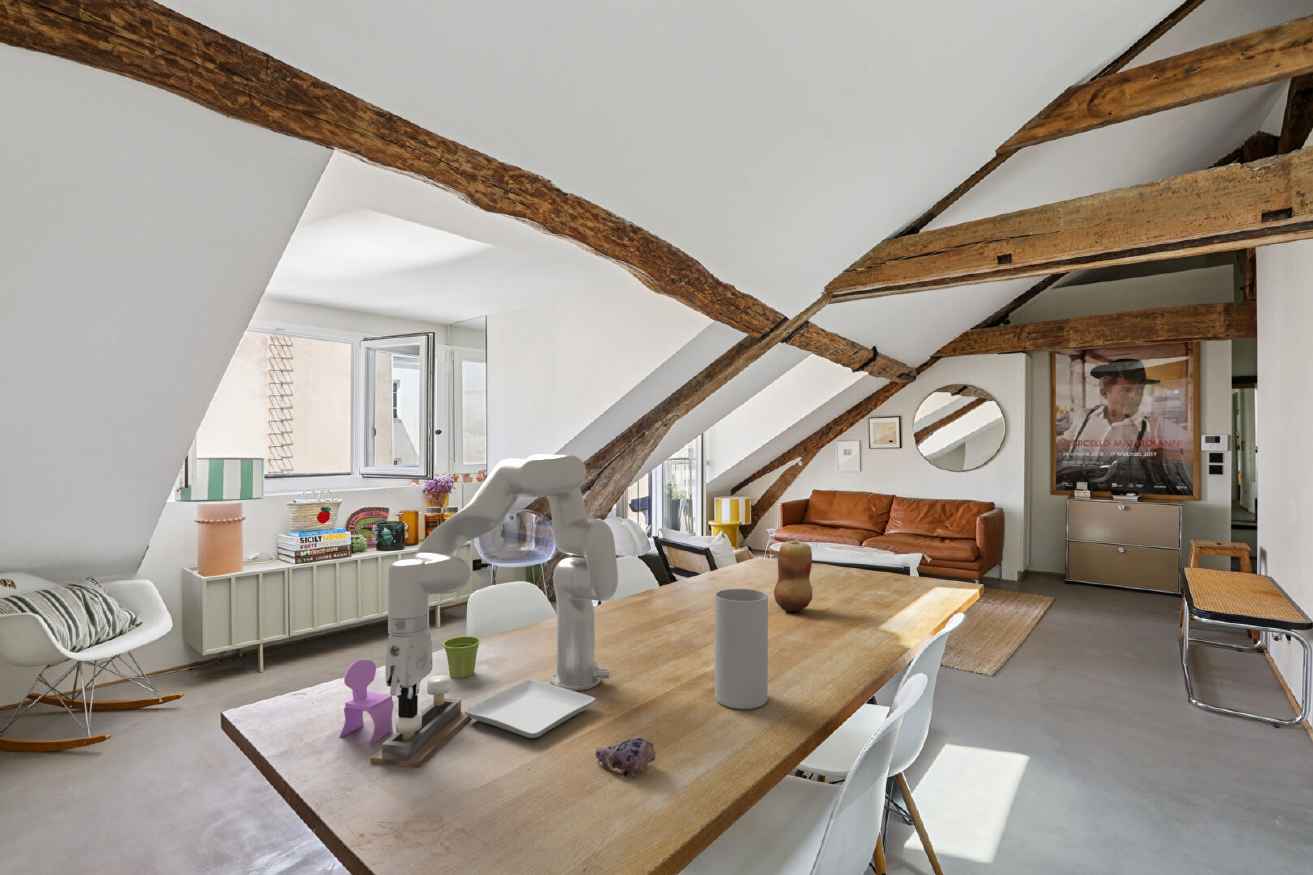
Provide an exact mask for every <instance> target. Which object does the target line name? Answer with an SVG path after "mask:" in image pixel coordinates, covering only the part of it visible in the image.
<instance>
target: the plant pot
mask: <svg viewBox="0 0 1313 875" xmlns="http://www.w3.org/2000/svg"><path fill="white" fill-rule="evenodd" d="M480 643H481V639H480V637H477V636H472V635H471V636H470V635H469V636H468V635H467V636H455V637H453V638H452V637H451V638H449V639H447V640H444V642H443V643H442V646H443V647H444V651H445V652H446V658H447V665H448V671H449V672H448V673H449V677H450V678H451V679H452V678H453V679H463V678H466V677H467V678H469V677H471V676H473V675H474V674H475V667H476V661H477V660H476V659H477V655H478V648H479V645H480Z"/></svg>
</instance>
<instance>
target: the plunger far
mask: <svg viewBox="0 0 1313 875" xmlns="http://www.w3.org/2000/svg"><path fill="white" fill-rule="evenodd" d="M451 679H452V677H451V676H450V675H449V676H448V675H435V676H432V677H429V678H428V679H427V680H426V681H427V682H426V685H427V686H426V688H427V689H426V692H427V694H428V695H430V696H433V703H434V705H435V706H440V705H443V704H444V699H445V694H447V693H450V692H451V691H452V689H451V686H452V685H451V684H452V683H451V682H452V680H451Z"/></svg>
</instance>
